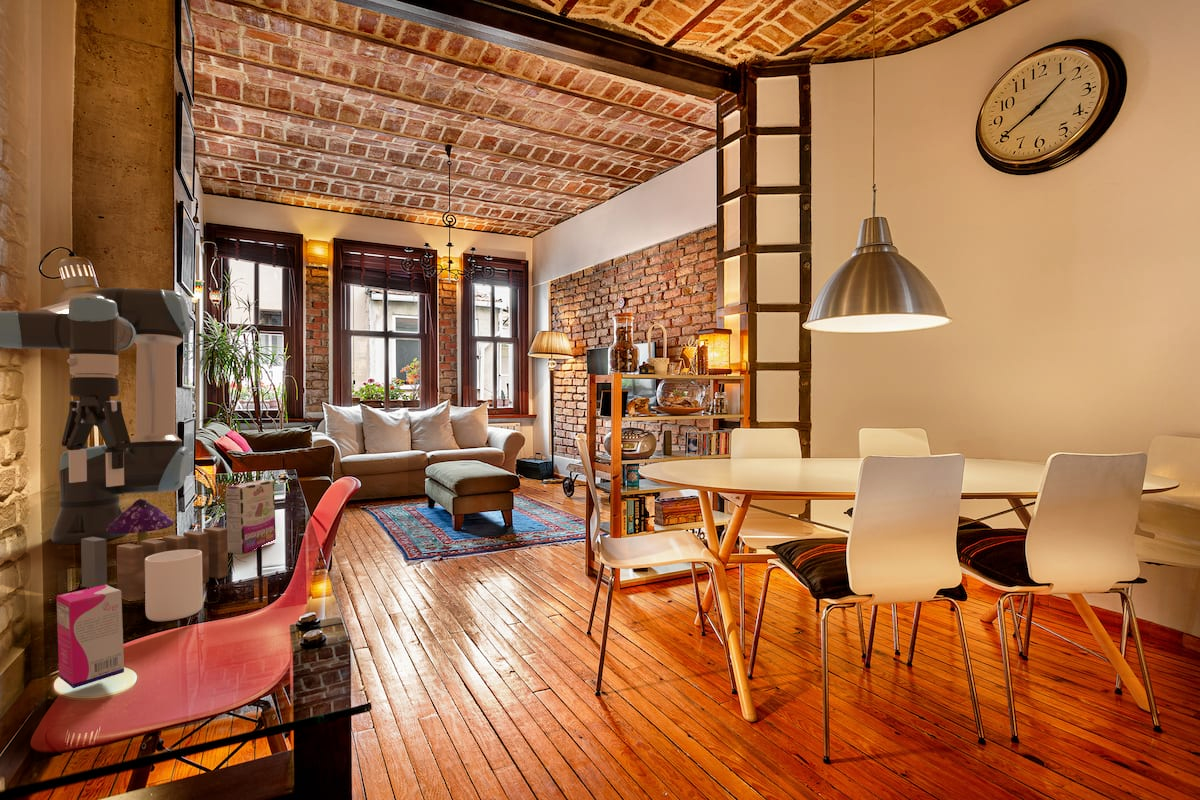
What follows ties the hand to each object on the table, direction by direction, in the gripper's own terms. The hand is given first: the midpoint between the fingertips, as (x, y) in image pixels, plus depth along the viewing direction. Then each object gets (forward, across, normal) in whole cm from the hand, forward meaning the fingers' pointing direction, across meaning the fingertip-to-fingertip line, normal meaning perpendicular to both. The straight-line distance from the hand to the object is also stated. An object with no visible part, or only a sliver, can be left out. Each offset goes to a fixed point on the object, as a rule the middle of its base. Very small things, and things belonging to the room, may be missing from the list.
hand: (96, 484), depth 122 cm
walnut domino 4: (+21, +13, +11) cm, 27 cm away
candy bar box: (+21, -2, +34) cm, 40 cm away
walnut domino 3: (+21, +13, +7) cm, 26 cm away
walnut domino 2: (+21, +13, +3) cm, 25 cm away
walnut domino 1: (+21, +13, -1) cm, 25 cm away
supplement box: (+21, +44, -21) cm, 53 cm away
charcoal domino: (+21, 0, 0) cm, 21 cm away
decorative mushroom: (+21, -11, +14) cm, 27 cm away
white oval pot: (+21, +27, -1) cm, 34 cm away
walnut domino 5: (+21, +13, +15) cm, 29 cm away
